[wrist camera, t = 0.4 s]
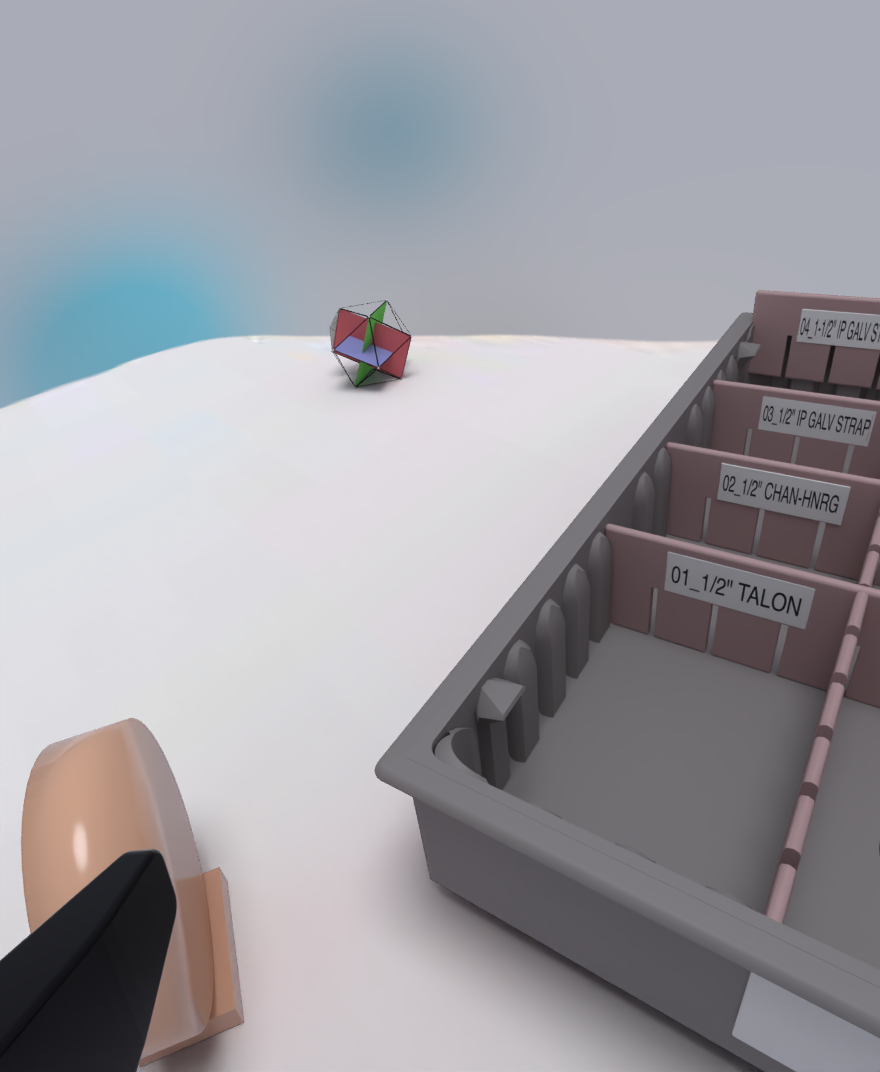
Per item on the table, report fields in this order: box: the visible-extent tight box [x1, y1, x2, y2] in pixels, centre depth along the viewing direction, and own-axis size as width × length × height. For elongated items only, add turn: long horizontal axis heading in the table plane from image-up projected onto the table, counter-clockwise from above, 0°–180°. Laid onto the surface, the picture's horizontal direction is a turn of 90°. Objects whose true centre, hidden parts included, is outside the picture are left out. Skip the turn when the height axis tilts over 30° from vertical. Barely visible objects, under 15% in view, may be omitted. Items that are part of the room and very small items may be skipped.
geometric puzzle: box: [330, 300, 413, 388], centre depth 62 cm, size 7×7×8 cm
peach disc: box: [21, 718, 244, 1067], centre depth 22 cm, size 9×3×10 cm, turn 20°
